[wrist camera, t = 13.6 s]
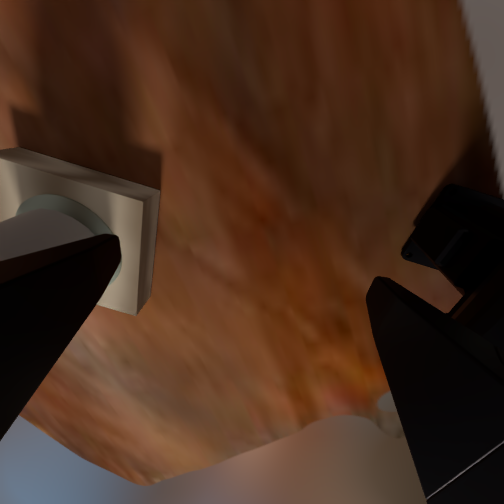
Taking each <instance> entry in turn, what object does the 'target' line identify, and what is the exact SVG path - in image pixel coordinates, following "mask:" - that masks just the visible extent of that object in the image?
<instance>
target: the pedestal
mask: <svg viewBox="0 0 504 504" xmlns="http://www.w3.org/2000/svg"><path fill="white" fill-rule="evenodd" d="M159 201H160V190H157V189H154V188H151V187H147V186H144V185H141V184H138V183H134V182H131V181H128V180H125V179H121V178H118V177H115V176H111V175H108V174H105V173H102V172H98V171H95V170H92V169H89V168H85V167H82V166H79V165H76V164H72V163H69V162H66V161H63V160H59V159H56V158H53V157H50V156H46V155H43V154H40V153H36V152H33V151H30V150H27V149H23V148H20V147H16V148H9V149H3V150H0V222H2V221H4V220H7V219H9V218H12V217H14V216H17V215H19V214H22V213H24V212H27V211H30V210H35V209H40V208H42V209H49V210H56V211H59V212H61V213H63V214H66V215H68V216H70V217H72V218H74V219H75V220H77V221H79V222H80V223H82V224H83V225H84V226H86V227H87V228H88V229H89V230H90V231H91V232H92V233H93V234H94V235H95V236H96V235H100V234H104V233H107V234H114V235H117V236H118V237H119V240H120V247H121V255H122V258H121V262H120V264H119V266H118V268H117V270H116V272H115V273H114V275H113V277H112V279H111V281H110V283H109V284H108V286H107V288H106V290H105V292H104V294H103V295H102V297H101V299H100V300H99V301H98V303H97V304H96V305H100V306H103V307H107V308H110V309H114V310H117V311H121V312H124V313H128V314H131V315H135V316H137V314H138V313H139V311H140V310H141V309H142V307H143V306H144V305H145V303H146V302H147V300H148V299H149V298H150V295H151V285H152V274H153V264H154V253H155V243H156V232H157V222H158V211H159Z"/></svg>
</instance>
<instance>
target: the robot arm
mask: <svg viewBox="0 0 504 504" xmlns="http://www.w3.org/2000/svg"><path fill="white" fill-rule="evenodd" d="M452 189H454V192H453V193H451V194H449V192H450V191H451V190H452ZM410 237H411V238H410V239H409V241H408V242H407V244H406V245H405V247H404V248H403V250H402V251H401V256H402V257H403V258H404V259H405V260H408V261H411V262H414V263H417V264H421V265H424V266H427V267H430V268H434V269H437V270H439V271H440V272H441V273H442V274H443V275H444V276H445V277H446V278H447V279H448V281H449V282H450V283H451V284H452V285H453V286H454V287H455V288H456V289H457V290H458V291H459V292H460V293H461V294H462V295H463V297H462V298H461V299H460V300H459V301H458V303H457V304H456V305H455V306H454V307H453V308H452V309H451V311H450V312H449V313H446V314H445V313H443V312H442V311H440V310H439V309H437V308H435V307H434V306H432V305H431V304H429V303H428V302H426V301H424V300H423V299H421V298H420V297H418V296H417V295H415V294H413V293H412V292H410V291H409V290H407V289H406V288H404V287H402V286H401V285H399V284H398V283H396V282H395V281H393V280H391V279H390V278H387V277H381V276H377V277H375V278H374V280H373V282H372V284H371V286H370V288H369V290H368V292H367V295H366V304H367V309H368V314H369V318H370V323H371V328H372V333H373V337H374V341H375V344H376V347H377V350H378V354H379V357H380V360H381V363H382V366H383V369H384V372H385V375H386V378H387V381H388V384H389V387H390V390H391V394H392V396H393V400H394V402H395V406H396V409H397V412H398V415H399V418H400V421H401V424H402V427H403V431H404V434H405V437H406V440H407V443H408V446H409V449H410V452H411V455H412V458H413V461H414V464H415V467H416V470H417V474H418V477H419V480H420V483H421V486H422V489H423V492H424V495H425V498H426V499H427V501H426V502H427V504H504V200H503V199H500V198H497V197H494V196H491V195H487V194H484V193H481V192H478V191H475V190H472V189H469V188H466V187H462V186H459V185H456V184H449V185H447V186H446V187H445V188H444V189H443V190H442V192H441V193H440V195H439V196H438V198H437V199H436V201H435V202H434V204H433V205H432V207H431V208H430V209H428V211H427V212H426V214H425V215H424V217H423V218H422V220H421V221H420V223H419V224H418V226H417V227H416V228H415V230H414V231H413V233H412V234H411V236H410ZM409 252H411V253H410V254H409V255H406V254H407V253H409ZM121 258H122V255H121V247H120V240H119V237H118V236H117V235H114V234H107V233H104V234H100V235H96V236H93V237H89V238H85V239H81V240H78V241H74V242H70V243H66V244H62V245H59V246H55V247H51V248H47V249H44V250H40V251H36V252H32V253H29V254H25V255H21V256H17V257H13V258H10V259H6V260H2V261H0V441H1V439H2V438H3V436H4V435H5V433H6V432H7V431H8V429H9V428H10V427H11V425H12V424H13V422H14V421H15V419H16V418H17V417H18V415H19V414H20V412H21V411H22V409H23V408H24V407H25V405H26V404H27V402H28V401H29V400H30V398H31V397H32V395H33V394H34V392H35V391H36V390H37V388H38V387H39V385H40V384H41V383H42V381H43V380H44V378H45V377H46V375H47V374H48V373H49V371H50V370H51V368H52V367H53V365H54V364H55V363H56V361H57V360H58V358H59V357H60V356H61V354H62V353H63V351H64V350H65V348H66V347H67V346H68V344H69V343H70V341H71V340H72V338H73V337H74V336H75V334H76V333H77V331H78V330H79V329H80V327H81V326H82V324H83V323H84V321H85V320H86V319H87V317H88V316H89V314H90V313H91V312H92V310H93V309H94V307H95V306H96V304H97V303H98V301H99V300H100V299H101V297H102V295H103V294H104V292H105V290H106V288H107V286H108V284H109V283H110V281H111V279H112V277H113V275H114V273H115V272H116V270H117V268H118V266H119V264H120V262H121Z"/></svg>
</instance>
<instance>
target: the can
mask: <svg viewBox="0 0 504 504" xmlns="http://www.w3.org/2000/svg"><path fill="white" fill-rule="evenodd" d="M93 236H95V235H94V234H93V233H92V232H91V231H90V230H89V229H88V228H87V227H86V226H84V225H83V224H82V223H80V222H79V221H77V220H75V219H74V218H72V217H70V216H68V215H66V214H63V213H61V212H59V211H56V210H49V209H42V208H40V209H35V210H30V211H27V212H24V213H22V214H19V215H17V216H14V217H12V218H9V219H7V220H4V221H2V222H0V261H2V260H6V259H10V258H13V257H17V256H21V255H25V254H29V253H32V252H36V251H40V250H44V249H47V248H51V247H55V246H59V245H62V244H66V243H70V242H74V241H78V240H81V239H85V238H89V237H93Z"/></svg>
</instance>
